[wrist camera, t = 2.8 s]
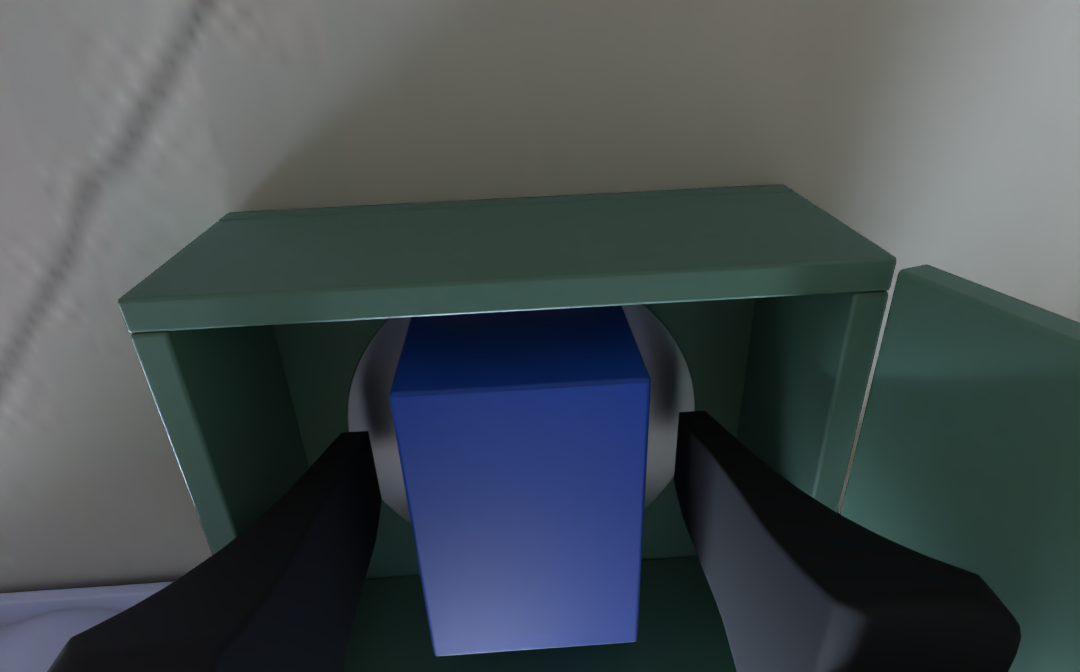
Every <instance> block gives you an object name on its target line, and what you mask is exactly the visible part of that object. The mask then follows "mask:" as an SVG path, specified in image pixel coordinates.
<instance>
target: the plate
mask: <svg viewBox="0 0 1080 672" xmlns="http://www.w3.org/2000/svg"><path fill="white" fill-rule="evenodd" d="M622 308H623V310H624V313H625V315H626V318H627V320H628V323H629V325H630V328H631V331H632V333H633V336H634V338H635V341H636V343H637V346H638V348H639V351H640V353H641V356H642V358H643V361H644V363H645V366H646V368H647V371H648V373H649V376H650V378H651V393H650V412H649V431H648V450H647V469H646V488H645V507H644V509H645V508H646V507H647V506H648V505H650V504H651V503H652V502H653V501H654V500H655V499H656V498H657V497H658V496H659V494H660V493H661V492H662V491H663V490H664V489H665V488H666V486H667V485H668V484H669V482H670V481H671V479H672V478H673V476H674V470H675V458H676V445H677V432H678V420H679V412H690V411H695V394H694V387H693V380H692V377H691V374H690V370H689V367H688V364H687V361H686V359H685V357H684V355H683V353H682V351H681V349H680V347H679V345H678V343H677V341H676V339H675V338H674V337H673V335H672V334H671V332H670V331H669V330H668V328H667V327H666V325H665V324H664V323H663V322H662V321H661V320H660V319H659V318H658V317H657V315H656V314H655V313H654V312H653V311H652V310H651V309H650V308H649V307H647V306H646V305H645V304H637V305H622ZM410 319H411V317H405V318H388V319H387V320H386V321H385V322H384V323H383V324H382V325H381V326H380V328H379V329H378V330H377V332H376V333H375V334H374V336H373V337H372V338H371V339H370V341H369V343H368V344H367V346H366V348H365V350H364V352H363V353H362V355H361V357H360V359H359V361H358V364H357V367H356V370H355V372H354V375H353V378H352V380H351V385H350V390H349V395H348V401H347V424H348V431H349V432H358V431H368V432H369V437H370V442H371V447H372V452H373V457H374V462H375V467H376V472H377V478H378V483H379V488H380V493H381V498H382V500H383V501H384V502H385V503H386V504H387V505H388V506H389V507H390V508H391V509H392V510H393V511H395V512H396V513H397V514H398V515H399V516H400V517H402V518H403V519H405V520H406V521H408V522H409V523H410V524H411V520H410V515H409V509H408V503H407V497H406V491H405V486H404V480H403V474H402V468H401V463H400V457H399V451H398V445H397V439H396V434H395V428H394V422H393V416H392V411H391V405H390V399H389V394H390V390H391V387H392V383H393V379H394V376H395V372H396V369H397V365H398V362H399V358H400V355H401V351H402V348H403V344H404V340H405V337H406V333H407V330H408V326H409V323H410Z"/></svg>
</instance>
